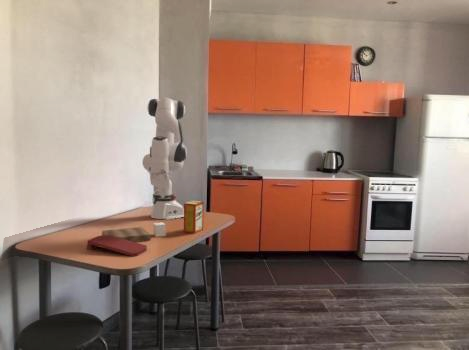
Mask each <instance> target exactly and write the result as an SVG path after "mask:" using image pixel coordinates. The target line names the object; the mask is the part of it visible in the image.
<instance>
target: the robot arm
mask: <svg viewBox="0 0 469 350" xmlns="http://www.w3.org/2000/svg"><path fill="white" fill-rule="evenodd" d="M146 110H147V112H148V115H149V116H150V117H154V120H155V121H154V122H155V124H156V127H155V128H156V129H155V136H154V137H153V138H152V140H151V145H150V147H149V153H148V154H145V155H144V157H143V158H142V161H141V162H142V166H143V169H144V170H146V171H147V173H148V174H149V178H150V179H149V181H150V185H151V186H152V187H153V194H152V203H153V204H152V211H151V215H150V218H152V219H157V220H165V221H166V220H167V221H169V220H176V219H181V217H184V205H182V204H180V203H179V202H178V201H177V200H176V199H178V195H176V194H173V192H172V191H173V183H172V181H171V179H170V176H169V174H168V173H177V172H181V170H182V169H183V168H184V161H185V160H186V159H187V155H188V154H187V153H188V151H187V147H186V144H185V138H184V133H183V128H182V124H181V121H179V120H181V119H182V118H183V117H184V116H185V114H186V106H185V103H184V102H183V101H181V100H174V99H172V98H169V97H162V98H159V99H158V98H151V99H150V100H149V101H148V103H147V107H146ZM175 139H176V142H175ZM175 218H176V219H175Z"/></svg>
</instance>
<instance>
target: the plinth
mask: <svg viewBox="0 0 469 350" xmlns="http://www.w3.org/2000/svg"><path fill="white" fill-rule="evenodd" d="M101 235H111V236H115V237H118V238H122V239H125V240H129V241H132V242H136V243H140V242H148V241H151V237H152V236H151V233H149V232H148V231H147V230H146V229H145V228H144V227H142V226H141V227H130V228H116V229H105V230H101Z"/></svg>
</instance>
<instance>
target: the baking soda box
mask: <svg viewBox="0 0 469 350" xmlns="http://www.w3.org/2000/svg"><path fill="white" fill-rule="evenodd" d="M183 209H184V218H183V233H187V234H193V235H195V234H197V233H200V232H201V230H202V231H203V230H204V201H203V200H202V201H200V200H189V201H187V202H184V203H183Z"/></svg>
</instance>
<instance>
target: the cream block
mask: <svg viewBox="0 0 469 350" xmlns="http://www.w3.org/2000/svg"><path fill="white" fill-rule="evenodd" d="M152 228H153V229H152V234H153V236H155V238H156V237H157V238H158V237H159V238H160V237H166V235H167V233H166V228H167V224H166V223H164V222H163V221H162V222H161V221H160V222H153V226H152Z"/></svg>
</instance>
